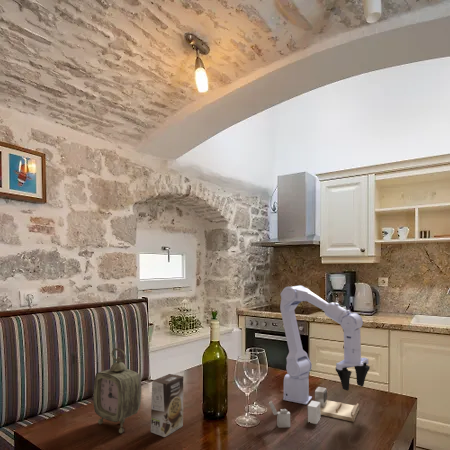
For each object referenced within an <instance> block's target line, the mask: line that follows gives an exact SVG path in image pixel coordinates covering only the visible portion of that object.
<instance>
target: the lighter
mask: <svg viewBox="0 0 450 450" xmlns="http://www.w3.org/2000/svg"><path fill="white" fill-rule="evenodd" d="M268 405H269V407H270V410H271V412H272V414H273V415H274V416H276V425H277V427H278V428H291V412H290V411H288V409H286V408H280V411H277V409H276V406H275V405H274V403H273V400H270V401H269V402H268Z"/></svg>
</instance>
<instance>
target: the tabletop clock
mask: <svg viewBox="0 0 450 450" xmlns="http://www.w3.org/2000/svg"><path fill="white" fill-rule="evenodd" d="M116 351H118V352H121V353H122V354H123V359H121V357H120V356H118V357H115V356H114V352H116ZM111 357H112V359H113V360H114V361H115V362H114V363H112V365H111V367H110V368H109V369H106V370H102V371H100V372H97V373H95V376H94V381H93V399H92V400H93V409H94V413H95V414H96V415H97V416H98V417H101V418H99V419H98V421H97V423H98V424H99V425H102V424H103V423H104V420H105V421H109V422H111V423H118V422H119V424H120V427H119V429H118V433H120V434H123V433H124V432H125V429H124V427H123V426H124V423H125V422H126V421H125V419H127V418H129V417H132V416H134V415H136V414H137V413H138V412H139V410H140V409H141V403H142V378H141V375H140V373H138V372H137V371H134V370H132V369H128V368H127V366H126V364H125V363H124V362H125V360H126V353H125V351H124V350H123V349H121V348H119V347H118V348H116V347H115V348H114V349H112V351H111Z"/></svg>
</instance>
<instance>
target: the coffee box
mask: <svg viewBox="0 0 450 450" xmlns="http://www.w3.org/2000/svg"><path fill="white" fill-rule="evenodd" d="M150 410H151V411H150V413H151V414H150V433H152V434H154V435H158V436H160V437H163V438H165V437H168V436H169V435H172V434H173V433H174V432H176V431H177V430H179V429H181V428H182V427H183V426H184V425H183V423H184V376H182V375H178V374H171V373H168V374H166V375H163V376H161V377H158V378H156V379H154V380H152V381H151V409H150Z"/></svg>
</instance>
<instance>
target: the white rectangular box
mask: <svg viewBox="0 0 450 450" xmlns="http://www.w3.org/2000/svg"><path fill="white" fill-rule="evenodd" d="M306 409H307V411H306V412H307V423H309V422H310V424H314V425H317V424H318V423H319V422H320V420H321V419H320V418H321V416H322V415H321V409H320V402H317V401H315V400H310V401H309V402H308V404H307V407H306Z"/></svg>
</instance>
